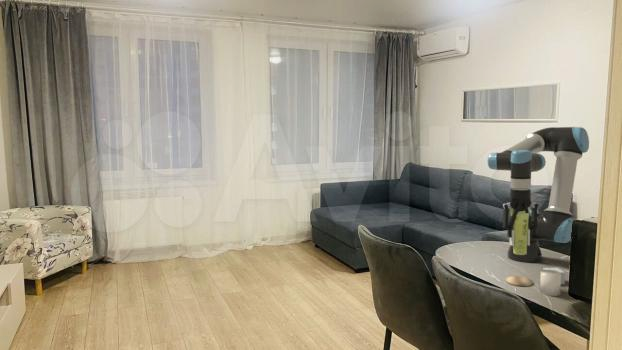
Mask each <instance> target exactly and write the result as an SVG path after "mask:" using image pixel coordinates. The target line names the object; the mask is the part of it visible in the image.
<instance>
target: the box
mask: <svg viewBox="0 0 622 350" xmlns="http://www.w3.org/2000/svg"><path fill="white" fill-rule="evenodd" d="M542 270H554V271H558V272H560V273H561V285H565V284H566V282H565V281H566V272H565V271H563V270H562V269H561V268H560V267H543V268H542Z"/></svg>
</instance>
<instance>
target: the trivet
mask: <svg viewBox="0 0 622 350" xmlns="http://www.w3.org/2000/svg"><path fill="white" fill-rule="evenodd" d="M505 283H507V284H509V285H512V286H515V287H530V286H533V280H532V279H530V278H528V277H524V276H517V275H513V276H512V275H511V276H508V277H505Z"/></svg>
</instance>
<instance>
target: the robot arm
mask: <svg viewBox="0 0 622 350" xmlns="http://www.w3.org/2000/svg"><path fill="white" fill-rule="evenodd" d="M589 147H590V137H589V135H588V131H587V130H586V129H585V128H584V127H582V126H581V127H580V126H564V127H560V126H557V127H554V126H553V127H550V126H549V127H545V128H542V129H539V130H537V131H534V132H531V133H529V134H528V135H527V136H526V137H525V138H524V139H523V140H522V141H519V142H518V143H516V144H514V145H513V146H510V147H509V148H507V149H505V150H504V151H501V152H491V153H490V154H489V155H488V157H487V166H488V168H489V169H490V170H494V171H495V170H496V171H510V185H509V186H510V190H509V192H510V197H509V198H510V200H509V201H508V202H507V203H502V205H501V206H502V209H503V212H502V213H503V215H502V227H503V228H504V229H507V232H506V233H507V237H508V238H509V247H508V249H507V258H508V259H510V260H512V261H517V262H523V263H538V262H540V261H542V259H543V254H542V250H541V248H540V244H539V240H542V241H549V242H555V243H556V244H557V243H562V244H566V243H569V242H570V241H571V240H572V239H571V232H572V222H573V220H575V221H576V219H575V218H573V214H572V212H571V210H570V208H571V202H572V197H573V196H572V195H573V191H574V190H573V189H574V184H575V178H576V171H577V166H578V161H579V160H580V159H582V157H583V154H585V153H587V152H588V151H589V149H590V148H589ZM541 152H551V153H553V156H555V158H556V159H555V160H556V161H555V166H554V171H553V178H552V184H551V190H550V194H549V195H550V196H549V202H548V207H547V208H545V209H544V210H543V214H540V211H539V210H538V207H539V203H537V202H532V201H531V195H532V190H531V188H532V172H533V173H535V172H539V171H541V170H543V169H544V168H545V166H546V164H547V163H546V158H545V156H544V155H542V154H541ZM510 207H512V208H513V209H514V210H515V211H513V214H512V216H511V215H510V216H509V213H510ZM528 207H530V212H529V211H528ZM520 211H522V212H523V211H525V213H526V214H527V213H529V220H528V232H527V254H525V255H516V254H514V253H513V246H514V230H513V229H512V228H513V225H514V222H515V219H516V216H517V214H518V212H520Z"/></svg>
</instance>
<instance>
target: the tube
mask: <svg viewBox="0 0 622 350" xmlns="http://www.w3.org/2000/svg"><path fill="white" fill-rule="evenodd" d="M530 210H531V206H530V207H528V211H529V212H530ZM513 211H515V210H514V209H513V208H512V207H511V206H510V208H509V213H510V216H512V214H513ZM528 220H529V213H527V214H526V213H525V211H523V212H522V211H520V212H518V214H517V216H516V219H515V222H514V225H513V228H512V229H513V230H514V246H513V253H514V254H516V255H525V254H527V232H528Z"/></svg>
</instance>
